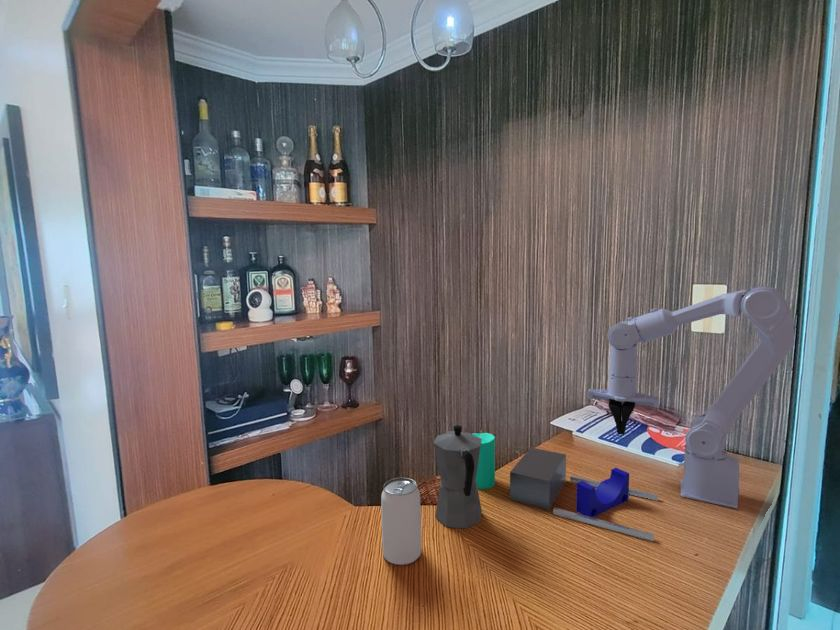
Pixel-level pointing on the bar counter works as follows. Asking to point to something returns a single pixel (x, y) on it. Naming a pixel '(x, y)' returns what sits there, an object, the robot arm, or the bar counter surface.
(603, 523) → the grey block with bars
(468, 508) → the coffeepot
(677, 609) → the bar counter surface
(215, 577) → the bar counter surface
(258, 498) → the bar counter surface
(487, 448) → the candle
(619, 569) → the bar counter surface
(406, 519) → the can
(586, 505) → the cable clip
